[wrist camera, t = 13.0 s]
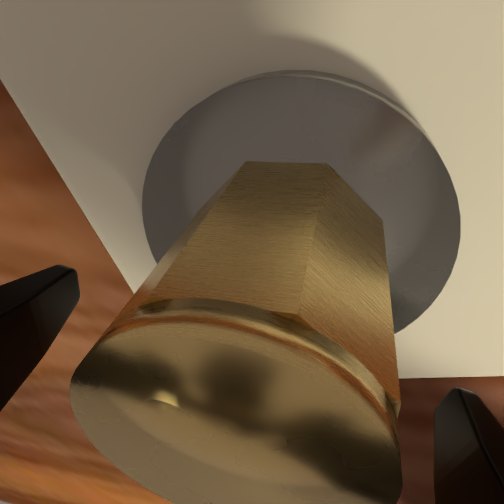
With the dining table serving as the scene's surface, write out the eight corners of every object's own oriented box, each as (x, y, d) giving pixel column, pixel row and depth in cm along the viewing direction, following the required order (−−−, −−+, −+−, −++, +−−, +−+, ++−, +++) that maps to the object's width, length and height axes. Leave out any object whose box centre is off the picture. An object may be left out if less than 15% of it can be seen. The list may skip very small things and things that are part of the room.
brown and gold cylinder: (285, 114, 10) (185, 264, 4) (423, 257, 11) (486, 515, 5) (169, 236, 13) (26, 412, 7) (286, 336, 14) (240, 547, 9)
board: (551, 357, 14) (560, 374, 14) (195, 371, 20) (190, 383, 20) (605, -430, 6) (634, -482, 5) (-30, -4, 12) (-52, -5, 11)
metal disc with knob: (462, 321, 13) (524, 514, 8) (218, 339, 17) (160, 479, 12) (434, 8, 9) (535, 18, 4) (108, 128, 12) (-62, 214, 7)
